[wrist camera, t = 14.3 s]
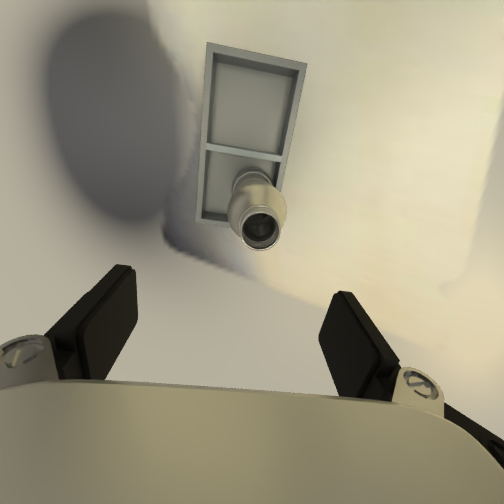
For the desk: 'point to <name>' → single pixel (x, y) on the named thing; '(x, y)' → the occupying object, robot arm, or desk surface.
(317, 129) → the desk surface
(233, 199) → the plastic bottle
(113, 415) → the robot arm
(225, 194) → the grey divided tray
